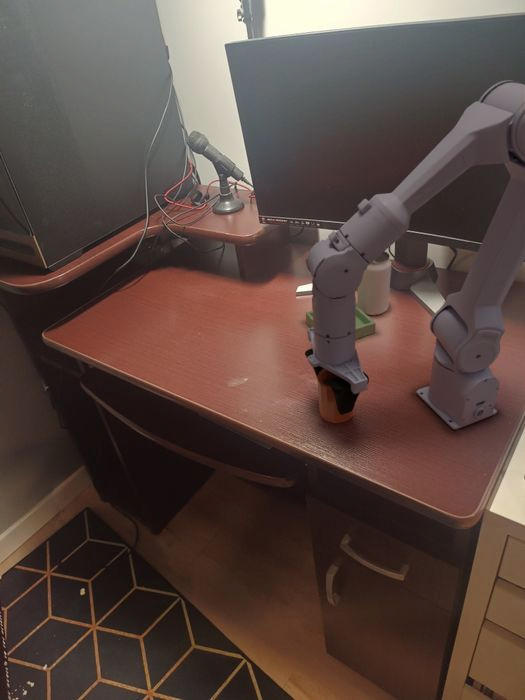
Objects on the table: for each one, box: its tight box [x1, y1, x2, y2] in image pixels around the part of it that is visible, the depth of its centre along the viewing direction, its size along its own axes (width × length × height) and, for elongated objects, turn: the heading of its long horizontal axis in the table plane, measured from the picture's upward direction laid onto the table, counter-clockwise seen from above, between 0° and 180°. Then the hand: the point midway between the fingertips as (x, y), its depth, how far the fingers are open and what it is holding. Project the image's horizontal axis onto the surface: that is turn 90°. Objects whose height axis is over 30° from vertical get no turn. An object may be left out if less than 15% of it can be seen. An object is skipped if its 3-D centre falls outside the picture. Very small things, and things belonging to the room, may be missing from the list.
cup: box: [316, 368, 355, 424], centre depth 71 cm, size 5×5×7 cm
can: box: [356, 250, 392, 316], centre depth 94 cm, size 6×6×12 cm
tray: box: [305, 305, 377, 340], centre depth 93 cm, size 10×10×2 cm
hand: (336, 399), depth 71 cm, fingers closed on cup, 5 cm apart
